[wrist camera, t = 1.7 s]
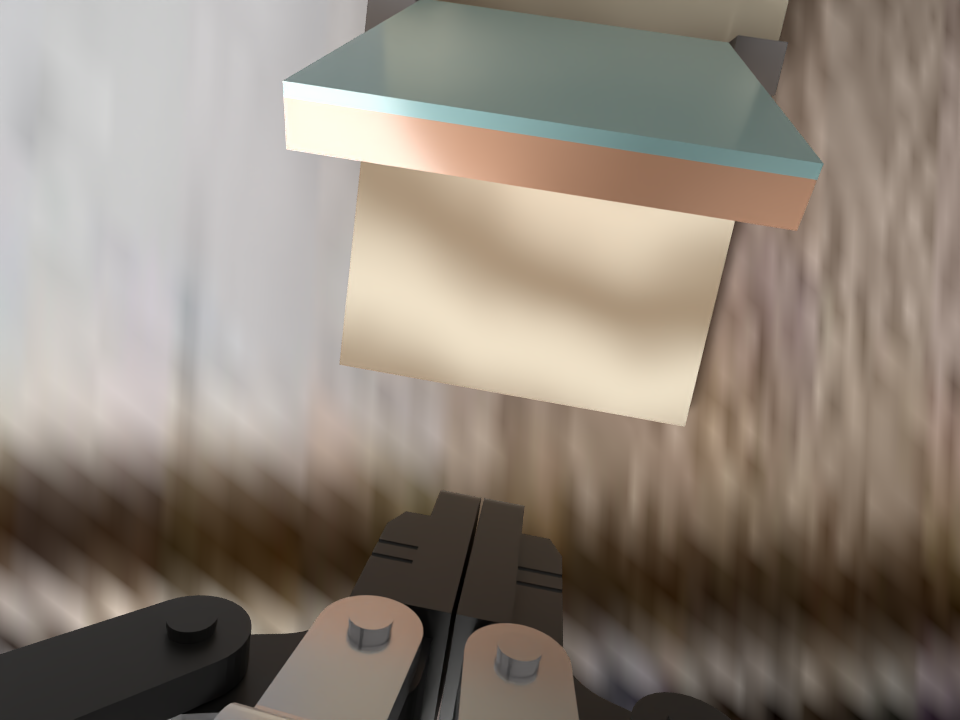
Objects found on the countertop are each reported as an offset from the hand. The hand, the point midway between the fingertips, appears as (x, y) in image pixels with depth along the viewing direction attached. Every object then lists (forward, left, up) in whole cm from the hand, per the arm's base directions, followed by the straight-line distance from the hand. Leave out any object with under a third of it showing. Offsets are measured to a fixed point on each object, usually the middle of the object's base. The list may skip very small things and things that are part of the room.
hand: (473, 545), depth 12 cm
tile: (-8, 0, -9) cm, 12 cm away
